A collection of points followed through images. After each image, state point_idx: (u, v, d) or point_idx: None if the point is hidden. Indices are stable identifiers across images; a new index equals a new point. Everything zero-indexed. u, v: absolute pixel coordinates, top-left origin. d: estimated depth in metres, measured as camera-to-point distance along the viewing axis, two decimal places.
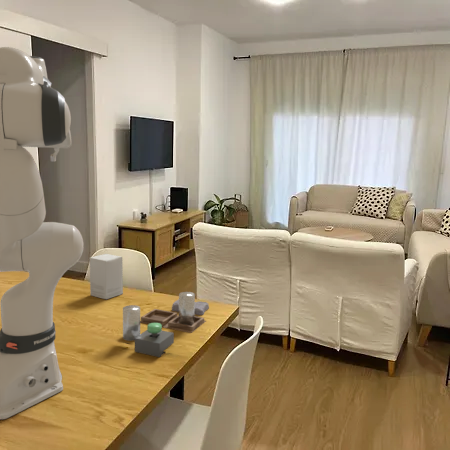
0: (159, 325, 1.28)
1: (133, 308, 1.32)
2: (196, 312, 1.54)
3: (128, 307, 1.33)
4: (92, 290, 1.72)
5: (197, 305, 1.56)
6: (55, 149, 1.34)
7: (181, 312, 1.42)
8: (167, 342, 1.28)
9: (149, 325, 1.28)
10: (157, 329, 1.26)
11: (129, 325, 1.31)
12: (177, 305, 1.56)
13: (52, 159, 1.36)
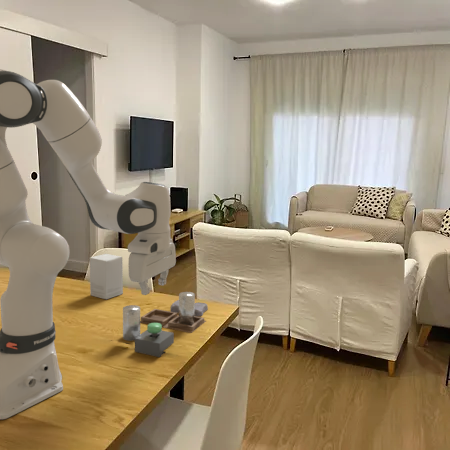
0: (159, 325, 1.28)
1: (133, 308, 1.32)
2: (195, 313, 1.53)
3: (128, 307, 1.33)
4: (92, 290, 1.72)
5: (196, 306, 1.55)
6: None
7: (181, 312, 1.42)
8: (167, 342, 1.28)
9: (149, 325, 1.28)
10: (157, 329, 1.26)
11: (129, 325, 1.31)
12: (176, 306, 1.55)
13: None
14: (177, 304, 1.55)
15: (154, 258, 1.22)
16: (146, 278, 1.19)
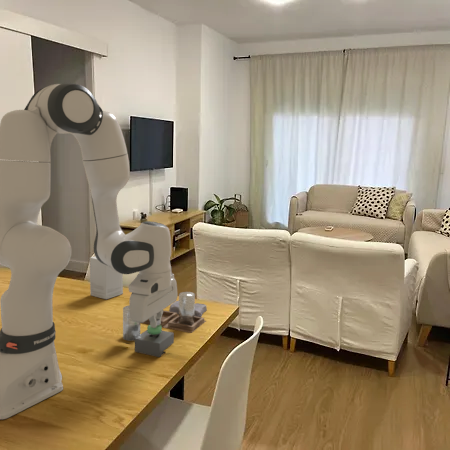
0: (159, 326, 1.28)
1: None
2: (194, 314, 1.52)
3: (128, 307, 1.33)
4: (92, 290, 1.72)
5: (195, 307, 1.54)
6: None
7: (181, 312, 1.42)
8: (167, 342, 1.28)
9: (149, 326, 1.28)
10: (157, 330, 1.26)
11: (129, 325, 1.31)
12: (174, 307, 1.54)
13: None
14: (176, 305, 1.54)
15: (155, 297, 1.24)
16: (147, 318, 1.20)
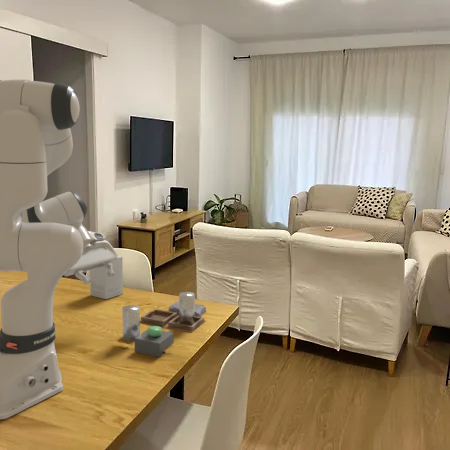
0: (159, 328, 1.28)
1: (133, 308, 1.32)
2: None
3: (127, 307, 1.33)
4: (92, 290, 1.72)
5: None
6: (109, 263, 1.43)
7: (181, 312, 1.42)
8: (167, 342, 1.28)
9: (149, 328, 1.28)
10: (157, 332, 1.27)
11: (129, 325, 1.31)
12: (174, 308, 1.53)
13: (111, 272, 1.42)
14: (175, 306, 1.53)
15: None
16: None
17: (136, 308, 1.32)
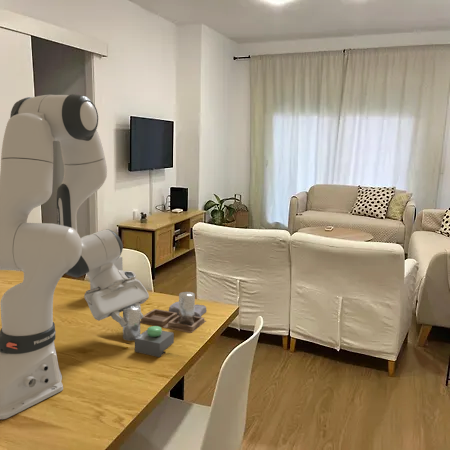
0: (159, 328, 1.28)
1: (133, 308, 1.32)
2: None
3: (128, 307, 1.33)
4: None
5: None
6: (137, 305, 1.37)
7: (181, 312, 1.42)
8: (167, 342, 1.28)
9: (149, 328, 1.28)
10: (157, 332, 1.27)
11: (129, 325, 1.31)
12: (174, 308, 1.53)
13: (140, 315, 1.35)
14: (175, 306, 1.53)
15: None
16: None
17: (137, 308, 1.32)
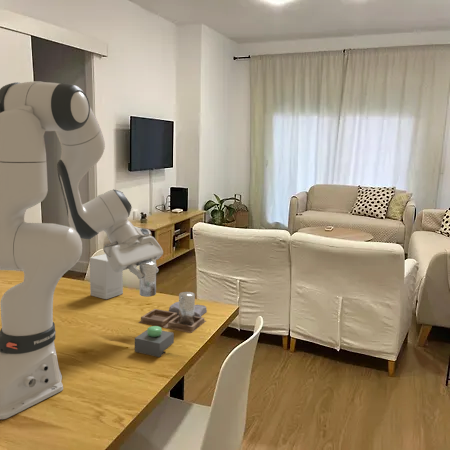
0: (159, 328, 1.28)
1: (149, 263, 1.39)
2: None
3: (144, 262, 1.39)
4: (92, 290, 1.72)
5: None
6: (152, 260, 1.43)
7: (181, 312, 1.42)
8: (167, 342, 1.28)
9: (149, 328, 1.28)
10: (157, 332, 1.27)
11: (146, 279, 1.37)
12: (174, 308, 1.53)
13: (156, 269, 1.42)
14: (175, 306, 1.53)
15: None
16: None
17: (153, 263, 1.39)
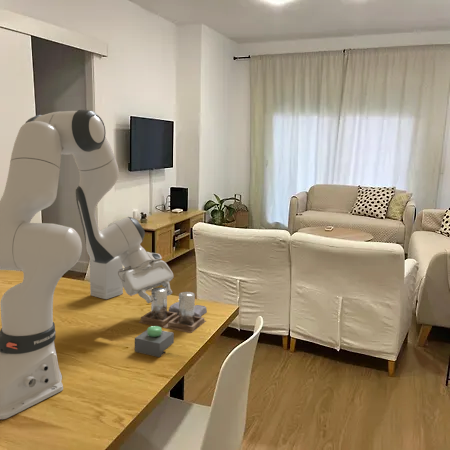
0: (159, 328, 1.28)
1: (161, 290, 1.47)
2: None
3: (156, 289, 1.47)
4: (92, 290, 1.72)
5: (194, 309, 1.53)
6: (166, 282, 1.52)
7: (181, 312, 1.42)
8: (167, 342, 1.28)
9: (149, 328, 1.28)
10: (157, 332, 1.27)
11: (158, 305, 1.45)
12: (174, 308, 1.53)
13: (169, 291, 1.51)
14: (175, 306, 1.53)
15: None
16: None
17: (164, 290, 1.47)
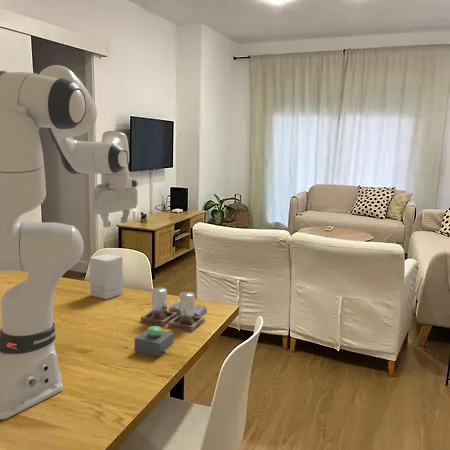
0: (159, 328, 1.28)
1: (161, 290, 1.47)
2: None
3: (156, 289, 1.47)
4: (92, 290, 1.72)
5: None
6: (128, 211, 1.53)
7: (181, 312, 1.42)
8: (167, 342, 1.28)
9: (149, 328, 1.28)
10: (157, 332, 1.27)
11: (158, 305, 1.45)
12: (174, 308, 1.52)
13: (126, 220, 1.52)
14: (175, 306, 1.53)
15: None
16: None
17: (164, 290, 1.47)
